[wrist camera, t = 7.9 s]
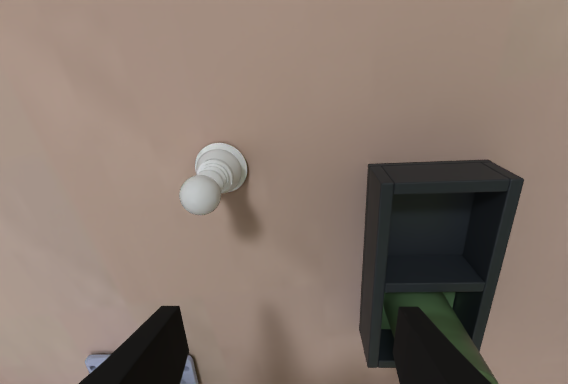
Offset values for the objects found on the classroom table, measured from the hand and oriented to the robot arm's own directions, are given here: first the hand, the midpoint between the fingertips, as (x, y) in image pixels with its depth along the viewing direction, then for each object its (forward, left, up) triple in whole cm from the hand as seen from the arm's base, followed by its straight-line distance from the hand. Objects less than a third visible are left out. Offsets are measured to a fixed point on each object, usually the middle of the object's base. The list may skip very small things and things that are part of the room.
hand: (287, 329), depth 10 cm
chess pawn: (+3, +4, -9) cm, 10 cm away
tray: (-3, -7, -8) cm, 12 cm away
